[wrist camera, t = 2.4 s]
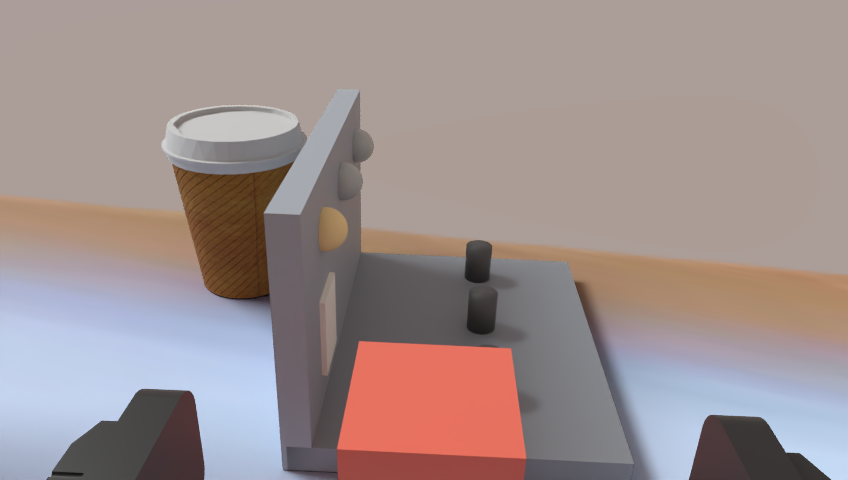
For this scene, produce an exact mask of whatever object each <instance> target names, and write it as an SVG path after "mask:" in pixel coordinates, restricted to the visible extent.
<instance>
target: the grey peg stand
mask: <svg viewBox="0 0 848 480" xmlns="http://www.w3.org/2000/svg"><path fill="white" fill-rule="evenodd" d="M373 148H374V144H373V140H372V138H371V136H370V135H369V134H368V133H367V132H365V131H363V130H360V90H350V89H338V90H337V91H336V93H335V95H334V97H333V98H332V100H331V101H330V103H329V105H328V106H327V108H326V110H325V112H324V113H323V115H322V116H321V118H320V120H319V121H318V123H317V125H316V127H315V128H314V130H313V131H312V134H311V135H310V136H309V138H308V140H307V141H306V143H305V145H304V146H303V148H302V150H301V151H300V153H299V155H298V156H297V158H296V160H295V162H294V163H293V165H292V167H291V168H290V170H289V172H288V173H287V175H286V177H285V178H284V180H283V182H282V183H281V185H280V187H279V188H278V190H277V192H276V193H275V195H274V197H273V198H272V200H271V202H270V203H269V205H268V207H267V208H266V210H265V212H264V225H265V238H266V252H267V265H268V278H269V292H270V305H271V319H272V332H273V345H274V359H275V372H276V386H277V399H278V412H279V426H280V439H281V452H282V466H283V469H284V470H304V471H323V472H338V466H337V447H338V442H339V437H340V432H341V428H342V423H343V418H344V413H345V408H346V403H347V398H348V393H349V389H350V384H351V379H352V374H353V369H354V364H355V359H356V354H357V350H358V345H359V341H365V342H386V343H408V344H429V345H450V346H471V347H492V348H511V352H512V359H513V366H514V373H515V380H516V388H517V395H518V402H519V409H520V416H521V424H522V431H523V438H524V445H525V452H526V466H525V473H524V480H631V477H632V472H633V468H634V461H633V458H632V455H631V452H630V449H629V446H628V443H627V440H626V437H625V434H624V431H623V428H622V425H621V422H620V419H619V416H618V413H617V410H616V407H615V404H614V401H613V398H612V395H611V392H610V389H609V386H608V383H607V380H606V377H605V374H604V371H603V368H602V365H601V362H600V358H599V355H598V352H597V349H596V346H595V343H594V340H593V337H592V334H591V331H590V328H589V325H588V322H587V319H586V316H585V313H584V310H583V307H582V304H581V301H580V298H579V295H578V292H577V289H576V286H575V283H574V280H573V277H572V274H571V271H570V268H569V265H568V262H558V261H536V260H515V259H493V258H491V254H492V245H491V244H490V243H488V242H485V241H480V240H475V241H470V242H468V243H467V247H466V257H449V256H427V255H405V254H383V253H361V201H360V200H361V197H360V196H361V194H360V190H361V188H362V183H363V179H362V175H361V173H360V162H363V161H365V160H367V159H368V158H369V157H370V156H371V154H372V152H373Z"/></svg>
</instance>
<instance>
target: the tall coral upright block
mask: <svg viewBox="0 0 848 480" xmlns="http://www.w3.org/2000/svg"><path fill="white" fill-rule="evenodd" d="M337 466H338V480H524V473H525V466H526V452H525V445H524V438H523V431H522V424H521V416H520V409H519V402H518V395H517V388H516V380H515V373H514V366H513V359H512V352H511V348H492V347H471V346H450V345H429V344H408V343H386V342H365V341H359V345H358V350H357V354H356V359H355V364H354V369H353V374H352V379H351V384H350V389H349V393H348V398H347V403H346V408H345V413H344V418H343V423H342V428H341V432H340V437H339V442H338V447H337Z"/></svg>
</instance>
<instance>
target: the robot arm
mask: <svg viewBox="0 0 848 480" xmlns="http://www.w3.org/2000/svg"><path fill="white" fill-rule="evenodd" d="M46 480H204V459H203V452H202V445H201V438H200V432H199V425H198V418H197V411H196V404H195V399H194V396H193V394H192V393H191V392H190V391H182V390H158V389H141V390H139V391H138V392H137V393H136V394H135V395H134V397H133V398H132V400H131V402H130V403H129V405H128V406H127V408H126V409H125V411H124V412H123V414H122V415H121V417H120V418H119V420H118V421H101V422H100V423H98V424H97V425H96V426H94V427H93V428H92V429H90V430H89V431H88V432H86V433H85V434H84V435H83V436H81V437H80V438H79V439H77V440H76V441H75V442H73V443H72V444H71V445H70V447H69V448H68V450H67V451H66V453H65V454H64V455H63V457H62V458H61V460H60V461H59V462H58V464H57V465H56V467H55V468H54V470H53V471H52V476H51V477H48V478H47V479H46ZM689 480H831V479H830V478H828V477H827V476H826V475H825V474H824V473H823V472H821V471H820V470H819V469H818V468H817V467H815V466H814V465H813V464H812V463H811V462H810V461H808V460H807V459H806V458H805V457H804V456H802V455H801V454H800V453H786V452H785V451H784V449H783V447H782V446H781V444H780V443H779V441H778V439H777V438H776V436H775V435H774V433H773V431H772V430H771V428H770V426H769V425H768V424H767V422H766V421H765V420H764V419H762V418H760V417H746V416H723V415H710V416H708V417H707V418H706V420H705V422H704V424H703V427H702V431H701V435H700V439H699V443H698V447H697V451H696V454H695V458H694V462H693V466H692V470H691V474H690V478H689Z"/></svg>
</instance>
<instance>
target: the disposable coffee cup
mask: <svg viewBox="0 0 848 480" xmlns="http://www.w3.org/2000/svg"><path fill="white" fill-rule="evenodd" d="M306 141H307V137H306V135H305V134H304V133H303V132H302V131H301V128H300V124H299V120H298V118H297V117H296V116H295V115H294V114H292V113H290V112H288V111H285V110H281V109H277V108H272V107H266V106H253V105H228V106H214V107H208V108H201V109H196V110H193V111H189V112H185V113H182V114H180V115H178V116H175V117H174V118H172V119H171V120H170V121H169V123H168V124H167V129H166V137H165V138H164V140H163V142H162V149H163V151H164V153H165V154H166V155H167V158H168V159H169V161H170V162H171V163H172V165H173V168H174V173H175V176H176V180H177V183H178V186H179V191H180V194H181V199H182V202H183V206H184V209H185V214H186V217H187V220H188V224H189V227H190V232H191V235H192V239H193V242H194V246H195V250H196V254H197V257H198V261H199V264H200V268H201V272H202V276H203V279H204V284H205V286H206V288H207V289H208V290H209V291H211V292H213V293H214V294H217V295H220V296H223V297H228V298H253V297H258V296H263V295H267V294H270V292H269V278H268V265H267V252H266V238H265V225H264V212H265V210H266V208H267V207H268V205H269V203H270V202H271V200H272V198H273V197H274V195H275V193H276V192H277V190H278V188H279V187H280V185H281V183H282V182H283V180H284V178H285V177H286V175H287V173H288V172H289V170H290V168H291V167H292V165H293V163H294V162H295V160H296V158H297V156H298V155H299V153H300V151H301V150H302V148H303V146H304V145H305V143H306Z"/></svg>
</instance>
